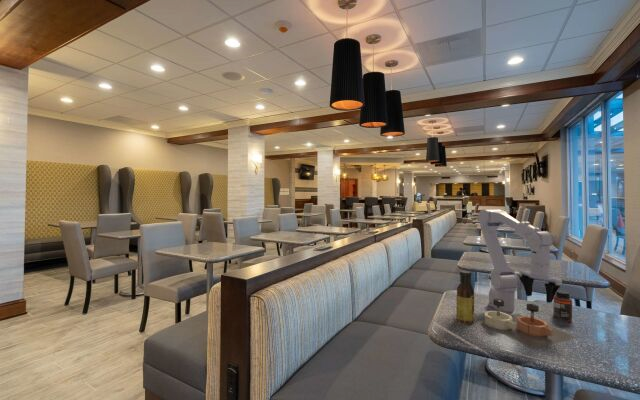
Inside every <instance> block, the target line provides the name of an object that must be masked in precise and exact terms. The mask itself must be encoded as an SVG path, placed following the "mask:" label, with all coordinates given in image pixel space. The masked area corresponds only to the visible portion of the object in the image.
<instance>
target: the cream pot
mask: <svg viewBox="0 0 640 400" xmlns="http://www.w3.org/2000/svg"><path fill="white" fill-rule="evenodd" d="M483 315H484V319H483V320H485V324H486V325H488V326H490V327H492V328H496V329H501V330H509V329H513V330H516V323H514V322H513V319H512V316H511V315H512V314H508V313H506V312H504V311H500V316H497V310H488V311H487V310H486V311H484V314H483ZM486 325H485V326H486ZM488 326H487V327H488ZM490 327H489V328H490ZM492 328H491V329H492Z"/></svg>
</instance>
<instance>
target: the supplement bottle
mask: <svg viewBox="0 0 640 400" xmlns="http://www.w3.org/2000/svg"><path fill="white" fill-rule="evenodd" d="M552 303H553V304H552V306H553V308H552V312H553V313H552V317H553V318H555V319H557V320H559V321H564V322H567V323H570V322H572V319H573V299H572V298H571V297H570V292H569V291H566V290H559V289H558V290H557V292H556V293H555V295H554V298H553V301H552Z"/></svg>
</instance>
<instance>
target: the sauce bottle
mask: <svg viewBox="0 0 640 400" xmlns="http://www.w3.org/2000/svg"><path fill="white" fill-rule="evenodd" d="M459 276H460V278H459V279H460V280H459V282H460V283H459V284H458V286H457V288H456V321H457V322H459V323H461V324H465V325H471V324H472V325H473V324H474V322H475V321H474V320H475V291H474V288H473V285H472V281H471V280H472V272H471V271H469V270H460V271H459Z"/></svg>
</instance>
